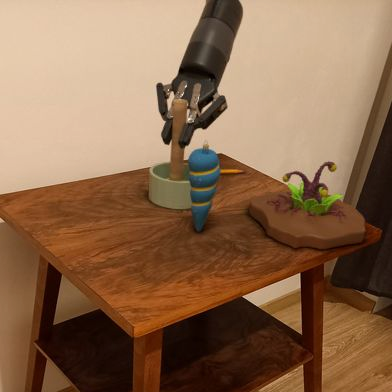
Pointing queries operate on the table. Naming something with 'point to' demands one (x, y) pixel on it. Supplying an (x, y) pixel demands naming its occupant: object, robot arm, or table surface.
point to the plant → (308, 215)
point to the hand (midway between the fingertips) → (173, 143)
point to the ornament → (202, 182)
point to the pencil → (230, 171)
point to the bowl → (169, 187)
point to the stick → (176, 151)
